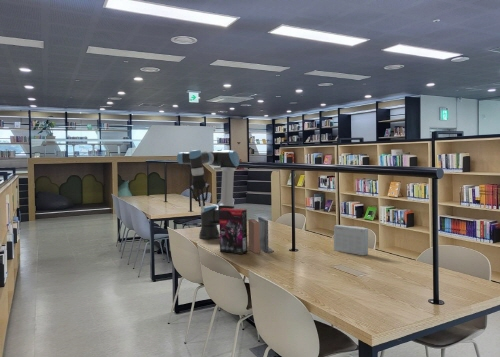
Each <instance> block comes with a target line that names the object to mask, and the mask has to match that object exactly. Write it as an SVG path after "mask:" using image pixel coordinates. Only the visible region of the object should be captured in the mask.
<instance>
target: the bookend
mask: <svg viewBox="0 0 500 357" xmlns="http://www.w3.org/2000/svg"><path fill="white" fill-rule="evenodd" d="M257 220H258V222H259V228H260V250H262V251H263V252H265V253H275V250H274V249H272V248H270V247H269V220H267V219H265V218H264V217H262V216H258V218H257Z"/></svg>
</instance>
